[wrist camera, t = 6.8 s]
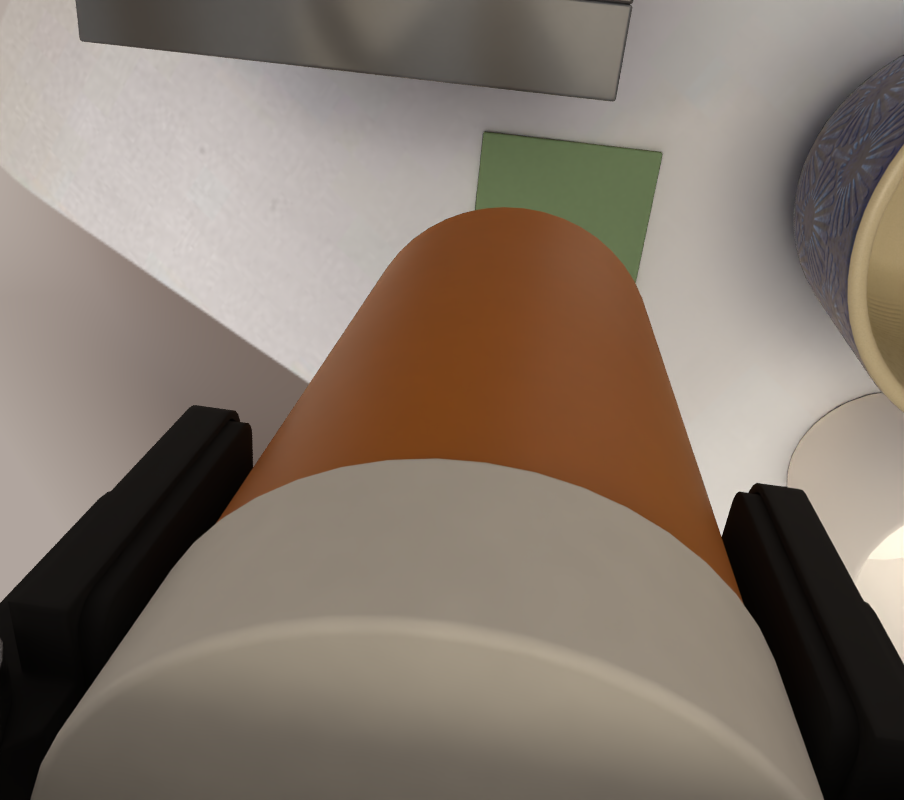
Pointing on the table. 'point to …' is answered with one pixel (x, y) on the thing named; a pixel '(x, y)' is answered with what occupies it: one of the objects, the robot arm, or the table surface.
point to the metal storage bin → (390, 37)
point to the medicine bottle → (456, 570)
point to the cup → (861, 498)
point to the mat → (574, 186)
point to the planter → (860, 225)
